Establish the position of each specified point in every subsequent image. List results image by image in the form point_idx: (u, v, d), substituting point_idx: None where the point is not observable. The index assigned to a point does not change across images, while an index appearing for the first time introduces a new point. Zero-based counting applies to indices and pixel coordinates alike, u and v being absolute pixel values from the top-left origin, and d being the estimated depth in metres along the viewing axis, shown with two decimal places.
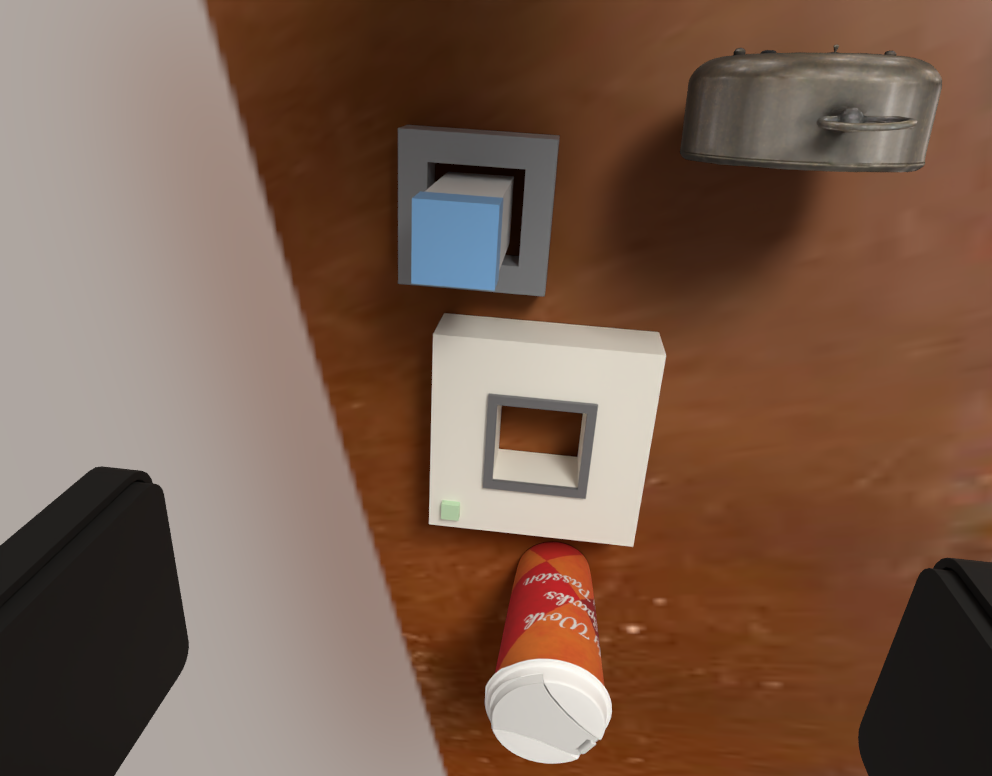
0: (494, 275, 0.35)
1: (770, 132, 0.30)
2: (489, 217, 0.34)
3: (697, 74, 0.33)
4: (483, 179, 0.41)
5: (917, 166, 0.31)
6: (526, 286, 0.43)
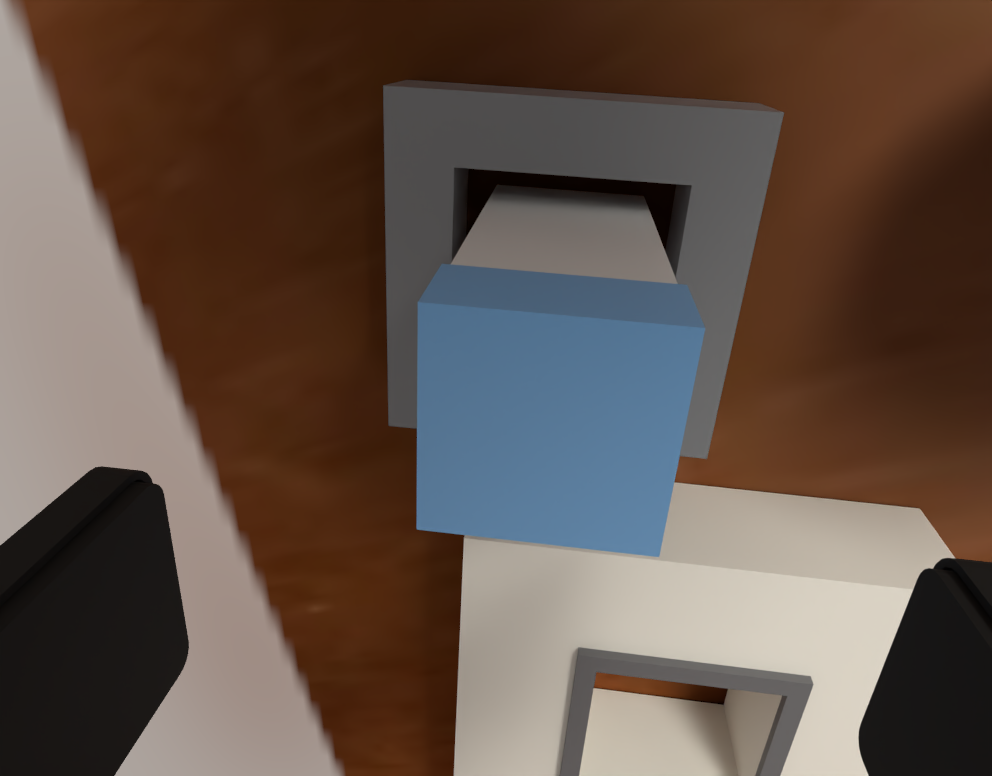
0: (663, 519, 0.12)
1: None
2: (667, 364, 0.10)
3: None
4: (584, 207, 0.17)
5: None
6: None
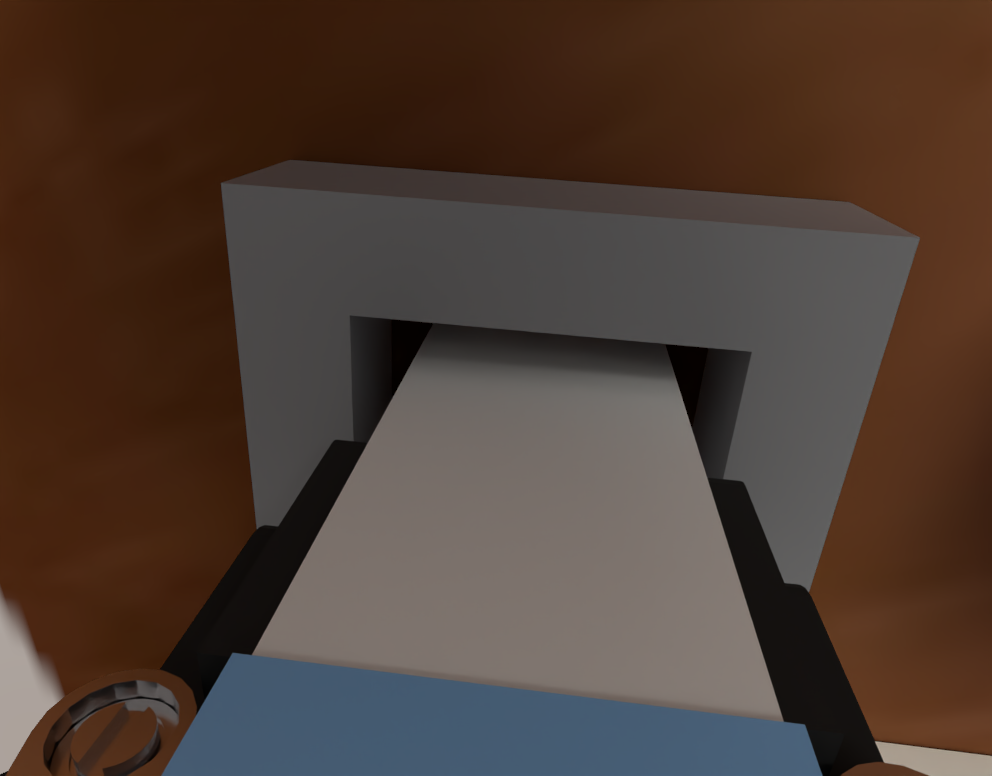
0: None
1: None
2: None
3: None
4: (569, 375, 0.11)
5: None
6: None
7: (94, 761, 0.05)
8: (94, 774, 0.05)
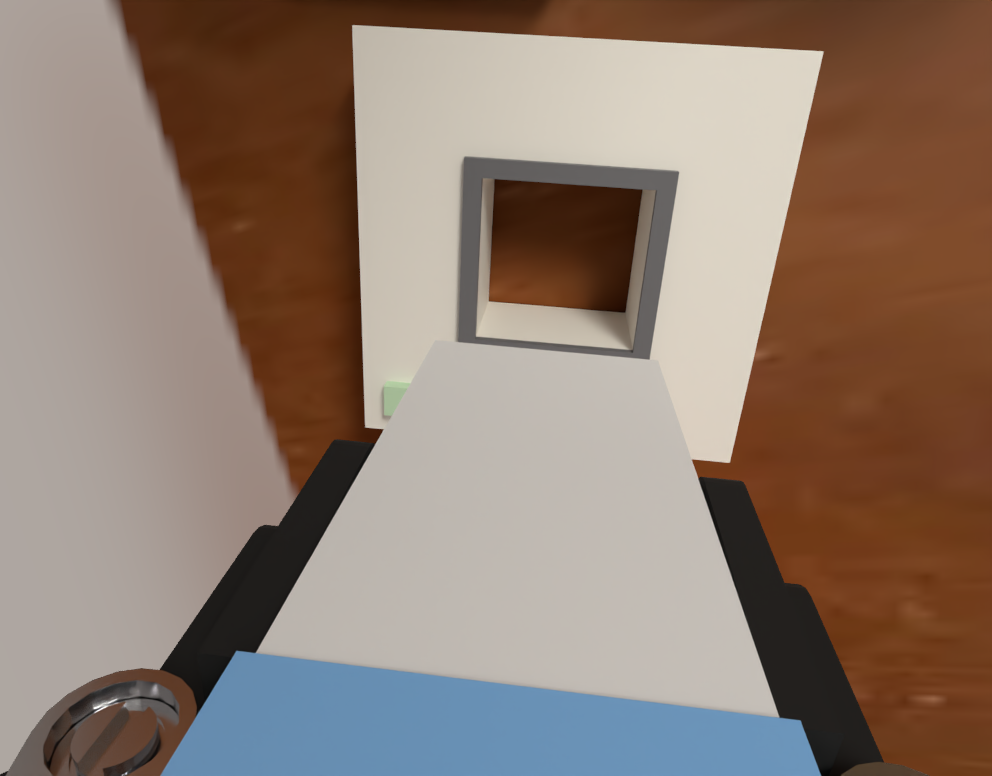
0: None
1: None
2: None
3: None
4: (566, 394, 0.11)
5: None
6: None
7: (94, 761, 0.05)
8: (94, 774, 0.05)
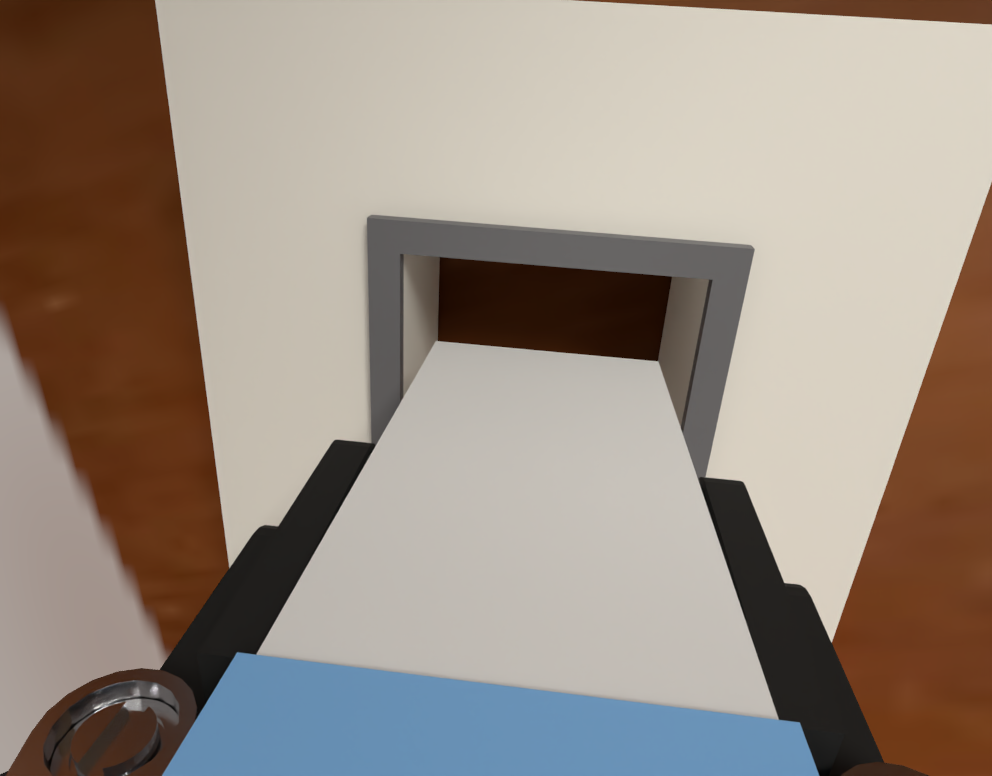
0: None
1: None
2: None
3: None
4: (566, 395, 0.11)
5: None
6: None
7: (94, 761, 0.05)
8: (94, 774, 0.05)
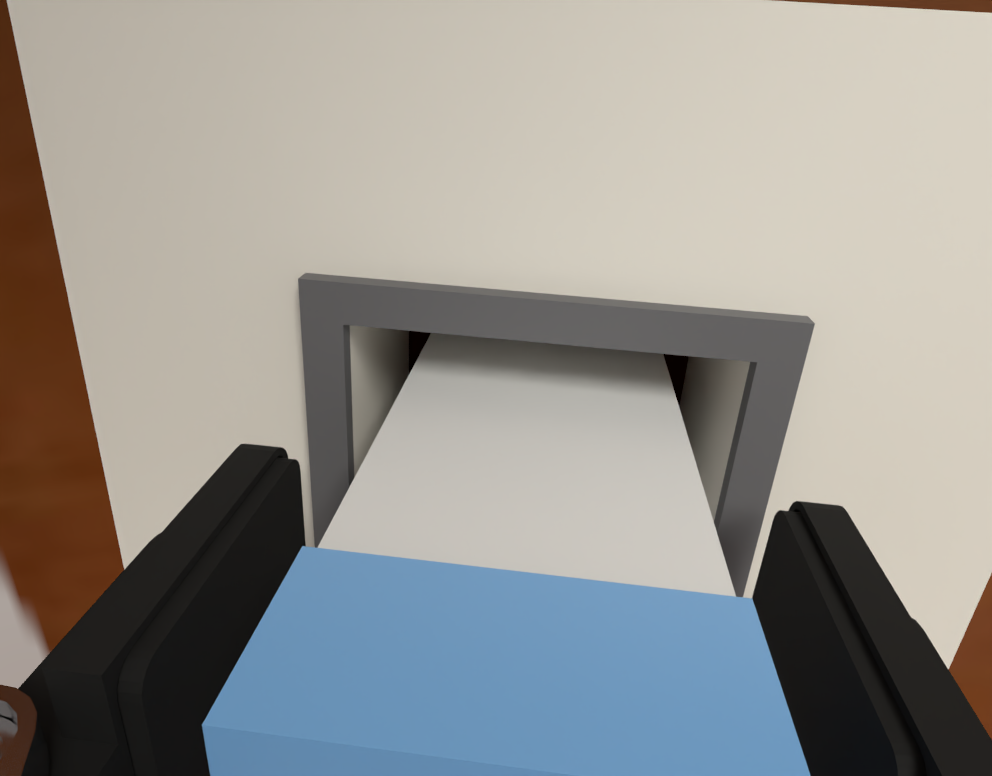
0: None
1: None
2: None
3: None
4: (568, 348, 0.12)
5: None
6: None
7: None
8: None
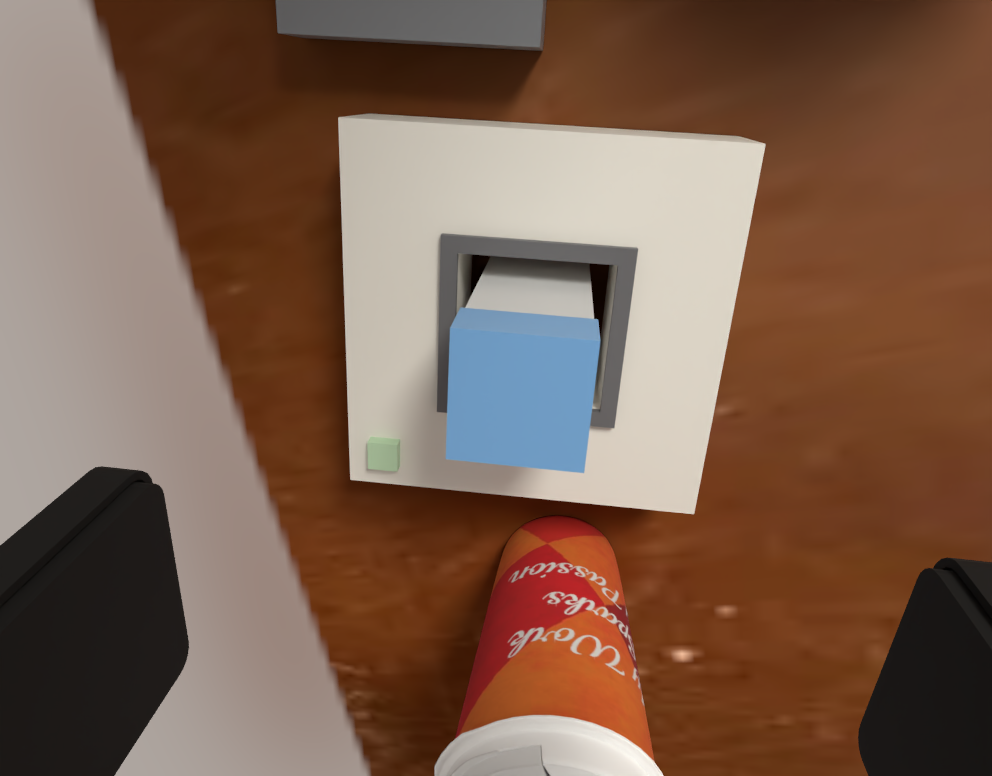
0: (585, 449, 0.21)
1: None
2: (581, 360, 0.20)
3: None
4: (547, 270, 0.27)
5: None
6: (506, 27, 0.23)
7: None
8: None
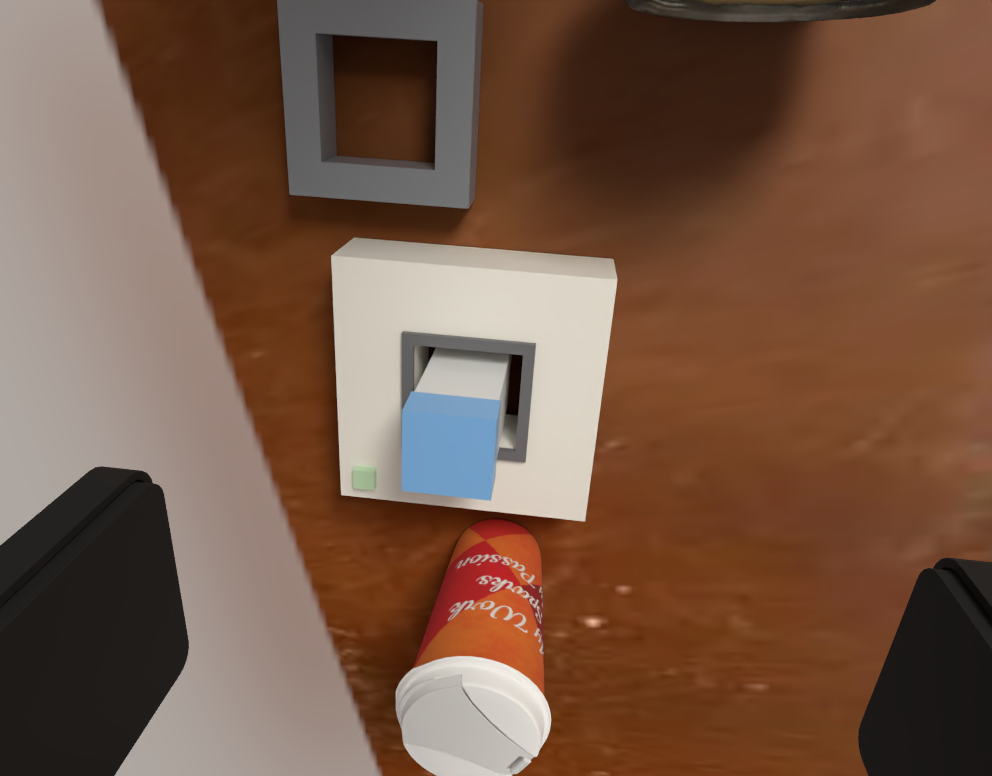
0: (490, 486, 0.32)
1: None
2: (485, 431, 0.31)
3: None
4: (480, 351, 0.38)
5: None
6: (445, 195, 0.34)
7: None
8: None
